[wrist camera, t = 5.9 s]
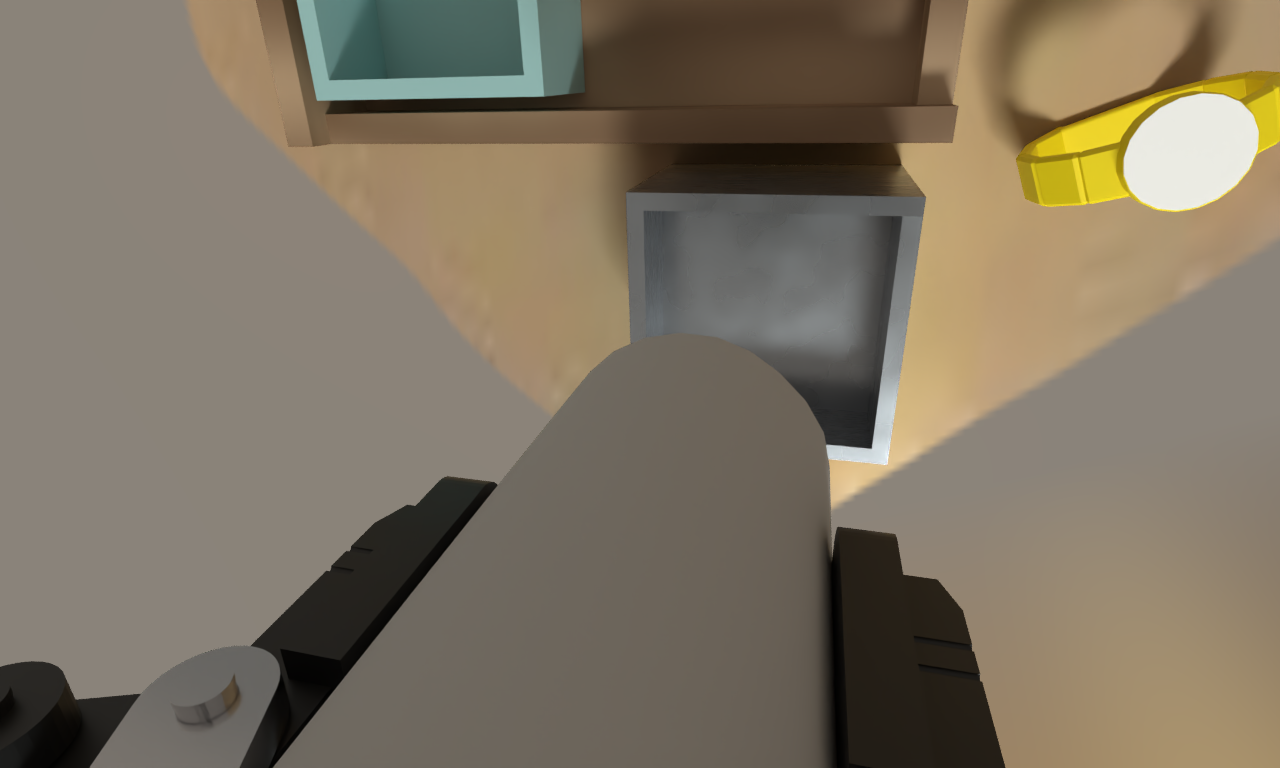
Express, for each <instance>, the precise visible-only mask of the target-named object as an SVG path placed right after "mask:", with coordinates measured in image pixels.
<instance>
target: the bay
mask: <svg viewBox="0 0 1280 768" xmlns="http://www.w3.org/2000/svg"><path fill="white" fill-rule="evenodd" d="M580 2H581V21H582V40H583V60H584V79H585V92H583V93H573V94H563V95H554V96H542V97H488V98H434V99H380V100H326V101H317V99H316V94H315V89H314V84H313V79H312V74H311V69H310V64H309V59H308V54H307V49H306V44H305V39H304V34H303V29H302V24H301V19H300V14H299V9H298V4H297V0H256V3H257V8H258V12H259V17H260V21H261V25H262V30H263V34H264V39H265V43H266V48H267V52H268V57H269V61H270V66H271V70H272V75H273V79H274V84H275V88H276V93H277V97H278V102H279V106H280V111H281V115H282V120H283V124H284V129H285V133H286V138H287V142H288V146H289V147H314V146H320V145H327V144H548V143H952V142H953V136H954V129H955V123H956V116H957V110H958V106H956V105H953V98H954V92H955V85H956V79H957V72H958V65H959V59H960V52H961V46H962V39H963V32H964V26H965V19H966V13H967V6H968V0H580Z"/></svg>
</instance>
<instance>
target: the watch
mask: <svg viewBox="0 0 1280 768" xmlns="http://www.w3.org/2000/svg"><path fill="white" fill-rule="evenodd" d="M1279 141H1280V73H1279V72H1268V71H1255V72H1253V71H1250V72H1244V73H1238V74H1233V75H1227V76H1221V77H1215V78H1211V79H1208V80H1201V81H1198V82H1194V83H1190V84H1186V85H1182V86H1179V87H1175V88H1171V89H1167V90H1163V91H1160V92H1156V93H1154V94H1152V95H1149V96H1146V97H1143V98H1141V99H1138V100H1135V101H1133V102H1130V103H1127V104H1124V105H1122V106H1119V107H1116V108H1113V109H1111V110H1108V111H1105V112H1102V113H1100V114H1097V115H1094V116H1092V117H1089V118H1086V119H1083V120H1081V121H1078V122H1075V123H1072V124H1070V125H1067V126H1064V127H1058V128H1055V130H1052V131H1051V132H1049V133H1047V134H1045V135H1043V136H1041V137H1040V138H1038V139H1036V140H1034V141H1032V142H1030V143H1029V144H1028V145H1026V146H1025V147H1024V149H1023V150H1022V151H1021V153H1020V154H1019V155H1018V157H1017V158H1016V162H1017V166H1018V170H1019V174H1020V179H1021V183H1022V187H1023V192H1024V196H1025V199H1027V200H1029V201H1032V202H1034V203H1037V204H1039V205H1042V206H1047V207H1050V206H1070V205H1085V204H1087V203H1090V204H1093V203H1098V202H1103V201H1108V200H1113V199H1119V198H1124V197H1129V196H1130V197H1131V198H1132V199H1134V200H1136V201H1137V202H1139V203H1141V204H1144V205H1146V206H1148V207H1150V208H1153V209H1155V210H1161V211H1170V212H1179V211H1185V210H1191V209H1196V208H1199V207H1202V206H1204V205H1206V204H1209V203H1211V202H1213V201H1216V200H1218V199H1219V198H1221V197H1222V196H1223V195H1225V194H1226V193H1227V192H1229V191H1230V190H1232V189H1233V188H1234V187H1235V186H1236V185H1237V184H1238V183H1239V182H1240V181H1241V180H1242V178H1243V177H1244V176H1245V175H1246V174H1247V172H1248V171H1249V170H1250V168H1251V166H1252V164H1253V162H1254V159H1255V157H1256V155H1257V154H1258V153H1260V152H1262V151H1263V150H1265V149H1267V148H1269V147H1271V146H1273V145H1275V144H1277V143H1278V142H1279Z"/></svg>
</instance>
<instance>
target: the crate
mask: <svg viewBox="0 0 1280 768" xmlns="http://www.w3.org/2000/svg"><path fill="white" fill-rule="evenodd" d="M297 4H298V9H299V14H300V19H301V24H302V29H303V34H304V39H305V44H306V49H307V54H308V59H309V64H310V69H311V74H312V79H313V84H314V89H315V94H316V99H317V101H326V100H380V99H434V98H488V97H542V96H554V95H563V94H573V93H583V92H585V79H584V60H583V40H582V21H581V2H580V0H297Z"/></svg>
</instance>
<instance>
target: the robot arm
mask: <svg viewBox="0 0 1280 768" xmlns="http://www.w3.org/2000/svg"><path fill="white" fill-rule="evenodd" d="M497 486H498V485H497V484H496V483H495V482H489V481H480V480H473V479H465V478H457V477H449V476H447V477H444V478H442V479H441V480H440V481H439V482H438V483H437V484H436V485H435V486H434V487H433V488H432V489H431V490H430V491H429V492H428V493H427V494H426V496H425V497H424V498H423V499H422V500H421V501H420V502H419V503H418V504H417V505H416V506H412V505H406V506H404V507H403V508H401V509H399V510H397V511H395V512H394V513H392V514H390V515H388V516H386V517H385V518H383V519H381V520H379V521H377V522H376V523H374V524H373V525H372V526H371V527H370V528H369V529H368V530H367V531H366V532H365V533H364V534H363V535H362V536H361V537H360V538H359V539H358V540H357V541H356V542H355V543H354V544H353V545H352V546H351V550H350V551H346V552H345V553H344V554H343V555H342V556H341V557H340V558H339V559H338V560H337V561H336V562H335V563H334V564H333V565H332V566H331V570H330V571H326V572H325V573H324V574H323V575H322V576H321V577H320V578H319V579H318V580H317V581H316V582H315V583H314V584H313V585H312V586H311V587H310V588H309V589H308V590H307V591H305V593H304V594H303V595H302V596H300V597H299V599H297V600H296V601H295V602H294V604H293V605H291V607H289V608H288V609H287V610H286V611H285V612H284V614H282V615H281V616H280V617H279V618H278V619H277V620H276V621H275V622H274V623H273V624H272V625H271V626H270V627H269V628H268V629H267V630H266V631H265V632H264V633H263V634H262V635H261V636H260V637H259V638H258V639H257V640H256V641H255V642H254V643H253V644H252V645H251V646H231V647H224V648H220V649H215V650H211V651H208V652H205V653H202V654H199V655H197V656H195V657H192V658H190V659H188V660H186V661H184V662H182V663H180V664H178V665H177V666H175V667H173V668H172V669H170V670H169V671H167V672H166V673H164V674H163V675H161V676H160V677H159V678H157V679H156V680H155V681H154V682H153V683H151V684H150V685H149V686H148V687H147V688H146V689H145V690H144V691H143V692H142V693H141V694H133V695H123V696H112V697H101V698H90V699H79V700H76V699H75V697H74V695H73V693H72V691H71V689H70V686H69V684H68V682H67V680H66V678H65V675H64V673H63V671H62V670H61V669H60V668H59V667H57V666H55V665H53V664H50V663H46V662H32V661H31V662H21V663H15V664H10V665H5V666H2V667H0V768H273V767H274V766H275V764H276V763H277V762H278V761H279V759H280V758H281V757H282V756H283V754H284V753H285V752H286V751H287V749H288V748H289V747H290V746H291V744H292V743H293V742H294V741H295V739H296V738H297V737H298V735H299V734H300V733H301V732H302V730H303V729H304V728H305V727H306V725H307V724H308V723H309V722H310V720H311V719H312V718H313V717H314V715H315V714H316V713H317V712H318V710H319V709H320V708H321V707H322V705H323V704H324V703H325V702H326V700H327V699H328V698H329V696H330V695H331V694H332V693H333V691H334V690H335V689H336V688H337V686H338V685H339V684H340V683H341V681H342V680H343V679H344V678H345V676H346V675H347V674H348V673H349V671H350V670H351V669H352V668H353V666H354V665H355V664H356V663H357V661H358V660H359V659H360V657H361V656H362V655H363V654H364V652H365V651H366V650H367V649H368V647H369V646H370V645H371V644H372V642H373V641H374V640H375V639H376V637H377V636H378V635H379V634H380V632H381V631H382V630H383V629H384V627H385V626H386V625H387V624H388V622H389V621H390V620H391V619H392V617H393V616H394V615H395V614H396V612H397V611H398V610H399V609H400V607H401V606H402V605H403V603H404V602H405V601H406V600H407V598H408V597H409V596H410V595H411V593H412V592H413V591H414V590H415V588H416V587H417V586H418V585H419V583H420V582H421V581H422V580H423V578H424V577H425V576H426V575H427V573H428V572H429V571H430V570H431V568H432V567H433V566H434V565H435V563H436V562H437V561H438V560H439V558H440V557H441V556H442V555H443V553H444V552H445V551H446V550H447V548H448V547H449V546H450V544H451V543H452V542H453V541H454V539H455V538H456V537H457V536H458V534H459V533H460V532H461V531H462V529H463V528H464V527H465V526H466V524H467V523H468V522H469V521H470V519H471V518H472V517H473V516H474V514H475V513H476V512H477V511H478V509H479V508H480V507H481V506H482V504H483V503H484V502H485V501H486V499H487V498H488V497H489V496H490V494H491V493H492V492H493V491H494V489H495V488H496V487H497ZM832 592H833V631H834V669H835V708H836V745H837V768H1005V764H1004V761H1003V757H1002V754H1001V750H1000V746H999V742H998V739H997V735H996V731H995V727H994V724H993V720H992V717H991V713H990V709H989V705H988V702H987V698H986V694H985V691H984V687H983V683H982V682H981V681H980V672H979V668H978V665H977V661H976V658H975V654H974V652H973V651H972V643H971V639H970V635H969V632H968V628H967V625H966V621H965V617H964V613H963V610H962V609H961V608H960V607H959V606H958V604H957V603H956V602H955V600H954V599H953V598H952V597H951V596H950V594H949V593H948V592H947V591H946V590H945V588H944V587H943V586H942V585H941V583H940V582H939V581H938V580H936V579H929V578H922V577H915V576H908V575H903V572H902V565H901V559H900V554H899V548H898V542H897V537H896V535H895V534H890V533H882V532H875V531H867V530H859V529H851V528H843V527H837V530H836V535H835V541H834V549H833V557H832Z"/></svg>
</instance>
